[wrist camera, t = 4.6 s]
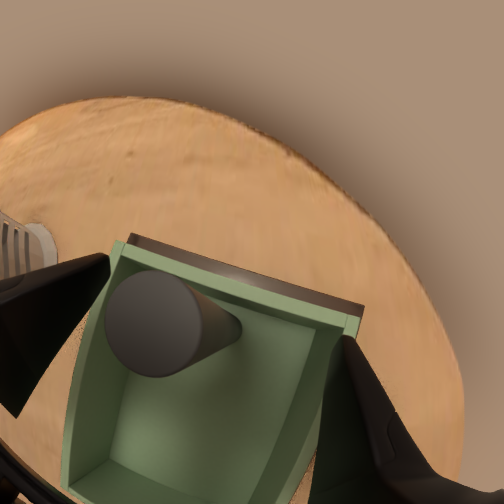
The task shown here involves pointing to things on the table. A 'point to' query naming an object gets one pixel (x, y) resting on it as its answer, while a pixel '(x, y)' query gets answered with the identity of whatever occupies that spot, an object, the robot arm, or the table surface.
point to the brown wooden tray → (249, 280)
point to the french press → (24, 248)
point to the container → (194, 388)
